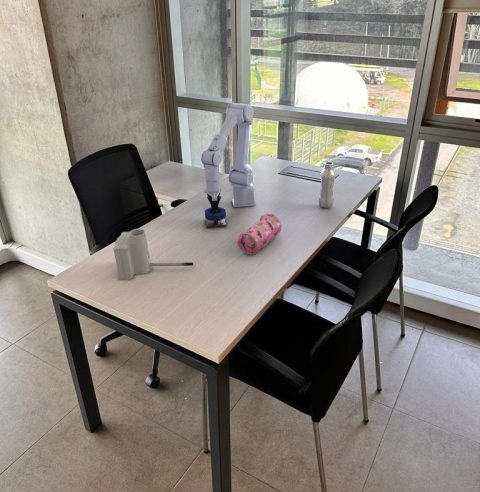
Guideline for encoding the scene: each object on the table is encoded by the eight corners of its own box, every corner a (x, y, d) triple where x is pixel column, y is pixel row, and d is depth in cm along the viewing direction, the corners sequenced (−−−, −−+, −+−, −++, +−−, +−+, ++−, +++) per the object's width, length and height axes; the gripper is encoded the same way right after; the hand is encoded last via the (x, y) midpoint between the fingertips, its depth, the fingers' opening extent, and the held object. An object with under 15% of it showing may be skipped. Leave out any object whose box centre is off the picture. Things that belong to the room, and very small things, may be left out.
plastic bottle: (316, 208, 202) (319, 164, 192) (320, 202, 208) (323, 160, 197) (331, 210, 200) (334, 166, 190) (334, 204, 205) (338, 161, 195)
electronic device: (126, 261, 168) (119, 224, 160) (195, 260, 167) (192, 223, 159) (117, 279, 158) (109, 241, 150) (191, 278, 157) (187, 240, 149)
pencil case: (262, 230, 186) (262, 210, 181) (282, 234, 182) (283, 214, 177) (235, 253, 170) (235, 232, 166) (257, 259, 166) (257, 237, 162)
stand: (224, 218, 196) (223, 206, 193) (226, 227, 190) (225, 213, 186) (206, 220, 196) (205, 207, 193) (207, 228, 189) (205, 215, 186)
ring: (224, 211, 195) (224, 206, 194) (226, 220, 188) (226, 214, 186) (204, 212, 194) (204, 207, 193) (205, 221, 187) (205, 216, 186)
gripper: (202, 174, 192) (204, 204, 199) (203, 186, 179) (206, 218, 187) (219, 173, 192) (220, 202, 199) (221, 185, 180) (223, 216, 187)
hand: (214, 210), depth 193 cm, fingers closed on ring, 2 cm apart
